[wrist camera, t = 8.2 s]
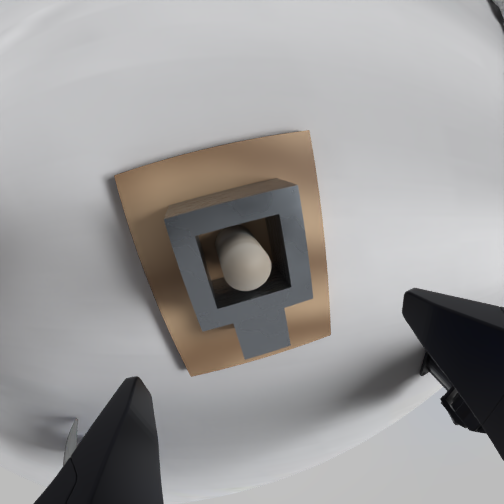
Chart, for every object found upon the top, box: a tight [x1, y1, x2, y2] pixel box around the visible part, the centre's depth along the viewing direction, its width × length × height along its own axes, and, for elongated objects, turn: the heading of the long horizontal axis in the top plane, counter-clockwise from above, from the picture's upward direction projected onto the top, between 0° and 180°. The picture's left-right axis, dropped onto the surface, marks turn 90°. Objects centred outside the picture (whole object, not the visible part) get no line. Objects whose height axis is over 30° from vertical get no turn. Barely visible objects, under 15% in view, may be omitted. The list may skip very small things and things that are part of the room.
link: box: [164, 178, 313, 360], centre depth 16 cm, size 10×7×4 cm
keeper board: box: [114, 130, 331, 377], centre depth 17 cm, size 16×12×5 cm
